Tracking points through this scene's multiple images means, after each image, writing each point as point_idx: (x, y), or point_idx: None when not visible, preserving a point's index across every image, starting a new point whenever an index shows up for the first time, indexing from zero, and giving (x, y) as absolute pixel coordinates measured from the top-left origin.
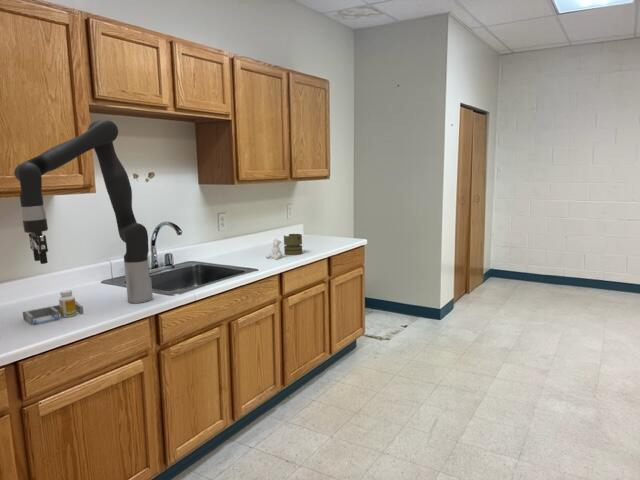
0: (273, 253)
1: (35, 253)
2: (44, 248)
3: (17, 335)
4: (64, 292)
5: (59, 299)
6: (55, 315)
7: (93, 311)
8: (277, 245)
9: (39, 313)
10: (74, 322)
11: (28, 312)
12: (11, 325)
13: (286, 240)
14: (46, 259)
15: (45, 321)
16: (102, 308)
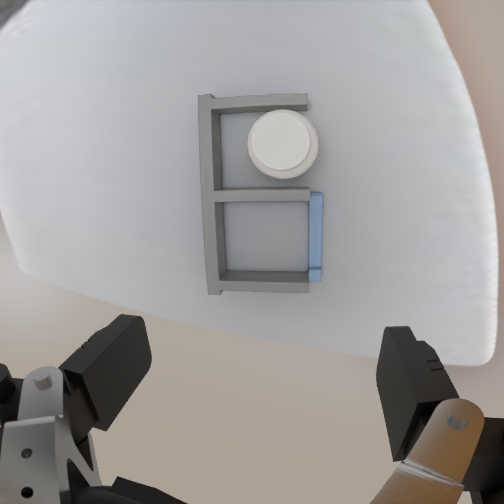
0: None
1: (112, 402)
2: (463, 469)
3: None
4: (306, 155)
5: (286, 178)
6: (316, 204)
7: (300, 64)
8: None
9: (220, 238)
10: (399, 163)
11: (234, 281)
12: (260, 325)
13: None
14: (416, 351)
15: (321, 239)
16: (282, 31)
